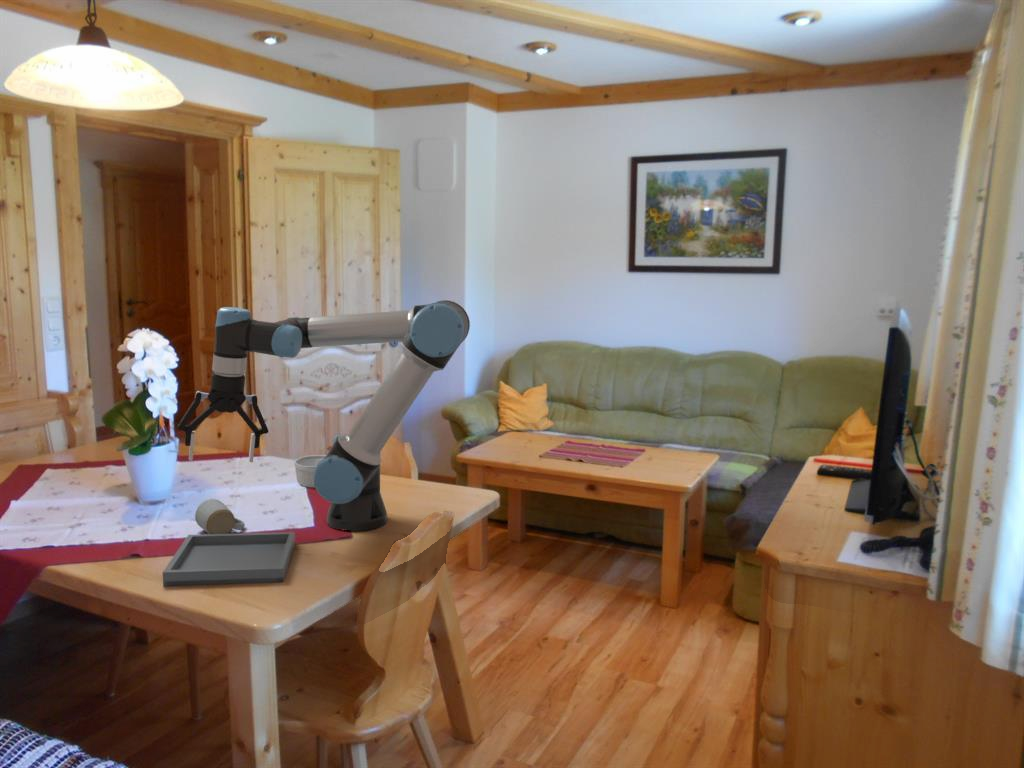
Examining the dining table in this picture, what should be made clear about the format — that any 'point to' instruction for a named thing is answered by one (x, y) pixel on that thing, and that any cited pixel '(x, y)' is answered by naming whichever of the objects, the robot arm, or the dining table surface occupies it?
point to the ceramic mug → (216, 518)
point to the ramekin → (307, 469)
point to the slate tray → (230, 559)
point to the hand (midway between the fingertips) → (221, 459)
